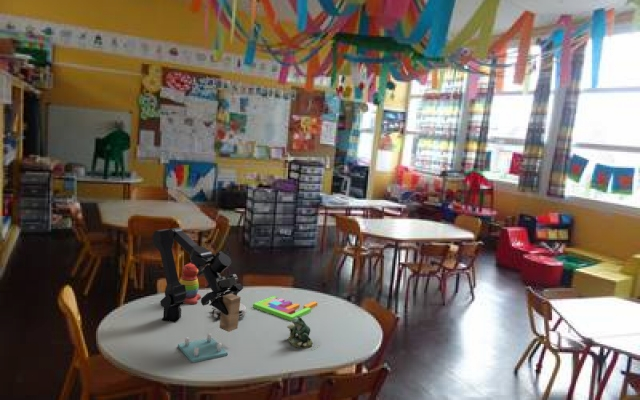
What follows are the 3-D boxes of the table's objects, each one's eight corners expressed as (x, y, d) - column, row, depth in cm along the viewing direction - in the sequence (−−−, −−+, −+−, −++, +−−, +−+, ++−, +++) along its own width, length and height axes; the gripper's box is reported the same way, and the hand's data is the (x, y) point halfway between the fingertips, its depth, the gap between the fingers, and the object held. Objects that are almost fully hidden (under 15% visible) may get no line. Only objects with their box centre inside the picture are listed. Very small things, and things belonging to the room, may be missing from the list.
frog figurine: (272, 334, 213) (275, 308, 212) (313, 332, 219) (315, 307, 217) (282, 353, 197) (285, 325, 195) (326, 351, 203) (329, 323, 201)
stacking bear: (196, 304, 237) (198, 268, 234) (174, 302, 237) (176, 266, 234) (201, 297, 247) (204, 261, 245) (181, 295, 247) (183, 259, 245)
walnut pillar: (219, 327, 199) (222, 296, 197) (228, 324, 203) (231, 293, 201) (228, 331, 196) (231, 299, 194) (237, 328, 200) (240, 297, 198)
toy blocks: (291, 322, 229) (320, 308, 250) (291, 317, 228) (321, 303, 249) (252, 308, 241) (284, 296, 262) (253, 303, 240) (284, 291, 261)
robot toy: (213, 323, 220) (248, 319, 225) (213, 313, 220) (248, 310, 224) (210, 312, 232) (243, 309, 236) (210, 303, 231) (243, 300, 236)
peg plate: (178, 346, 193) (178, 336, 193) (212, 340, 202) (212, 330, 201) (191, 362, 182) (192, 352, 182) (227, 355, 190) (228, 345, 190)
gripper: (208, 273, 190) (227, 309, 186) (241, 264, 206) (260, 297, 202) (192, 287, 196) (210, 323, 191) (226, 278, 211) (244, 310, 207)
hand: (232, 313), depth 198 cm, fingers closed on walnut pillar, 5 cm apart
